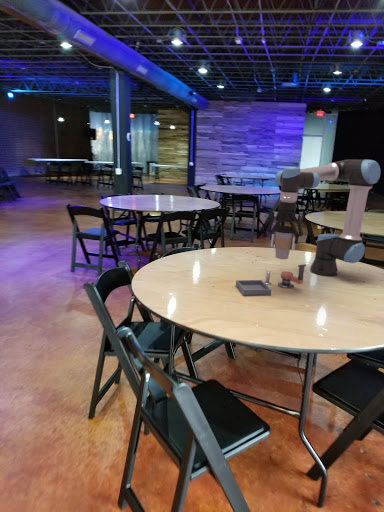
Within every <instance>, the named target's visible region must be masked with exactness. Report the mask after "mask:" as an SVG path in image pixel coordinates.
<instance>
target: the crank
mask: <svg viewBox="0 0 384 512" xmlns="http://www.w3.org/2000/svg"><path fill="white" fill-rule="evenodd" d="M306 266H307V264H304V263H303V264H300V265H299V264H298V267H297V268H298V276H295V275H294V273H293V272H292V271H287V270H286V271H285V270H284V271H281V273H280V274H281V275H280V278H281V280H282V279H286V280H291V282H294V283H296V284H298V285H303V284H304V276H305V275H304V274H305V267H306Z"/></svg>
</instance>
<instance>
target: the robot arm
mask: <svg viewBox="0 0 384 512" xmlns="http://www.w3.org/2000/svg"><path fill="white" fill-rule="evenodd" d="M380 177H381V167H380V164H379V163H378V162H377V161H376V160H373V159H344V160H339V161H335V162H334V161H333V162H329V163H327V164H326V165H321V166H320V165H319V166H312V167H307V168H300V167H295V166H294V167H293V166H286V167H284V168H283V170H280V171H278V172H277V173H276V174H275V183H276V184H277V185H278V186H279V187H281V188H280V195H279V200H280V201H279V205H278V211H272V212H271V216H270V219H269V223H268V225H267V229H266V232H267V233H269V241H271V242H270V248H274V247H275V236H276V232H275V231H274V230H275V229H276V227H277V226H280V224H281V223H282V222H286V223H289V225H290V227H292V230H293V231H294V234H293V240H292V244H291V251H293V252H294V251H295V249H296V245H297V244H298V243H299V238H300V237H302V236H303V235H304V232H303V226H302V225H303V223H302V217H303V215H302V214H297V213H296V209H297V208H296V207H297V201H298V200H297V199H298V192H299V189H304V190H306V189H308V190H311V189H316V188H317V187H318V186H319V184H320V182H321V181H329V182H334V181H337V182H338V181H340V182H345V183H346V182H347V186H348V188H349V189H350V190H349V195H348V201H347V206H346V211H345V217H344V223H343V228H342V233H341V234H337V233H322V234H319V235H318V237H317V240H316V245H315V246H316V248H315V254H314V260H313V261H312V262H311V265H310V268H309V272H311V273H313V274H315V275H318V276H323V275H324V277H334V276H333V275H335V276H337V275H338V267H337V266H338V265H337V260H340V261H341V262H342V261H343V262H345V263H349V264H355V263H358V262H359V261H360V260H361V259H362V258H363V257H364V255H365V252H366V246H365V245H364V243H362V241H363V238H362V237H361V230H362V224H363V220H364V214H365V211H366V204H367V199H368V195H369V191H370V190H371V189H373V185H374V184H376V183H378V181H379V180H380ZM277 216H278V219H277V221H276V222H275V219H276V217H277ZM294 218H296V220H297V221H296V222H297V226H296V224H295V221H294ZM274 222H275V224H274ZM273 224H274V225H273ZM297 227H298V228H297ZM336 274H337V275H336Z"/></svg>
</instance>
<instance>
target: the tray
mask: <svg viewBox="0 0 384 512" xmlns="http://www.w3.org/2000/svg"><path fill="white" fill-rule="evenodd" d="M264 282H265V281H264V280H262V279H248V280H247V279H246V280H245V279H242V280H241V279H240V280H239V279H238V280H237V279H236V280H235V287H236V288H237V290H238V291H239V292H240V294H241V295H242V296H243V297H256V296H257V297H260V296H261V297H262V296H263V297H265V296H266V297H267V296H272V291H273V290H272V288H271V287H269V286H268V285H266V284H265V283H264Z"/></svg>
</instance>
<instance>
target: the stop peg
mask: <svg viewBox="0 0 384 512" xmlns="http://www.w3.org/2000/svg"><path fill="white" fill-rule="evenodd" d="M270 278H271V271H270V270H267V271H266V273H265V281H263V282H264V283H265V284H266V285H267V286H268V285H269V286H270V285H271V284H272V282H271V281H270Z"/></svg>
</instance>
